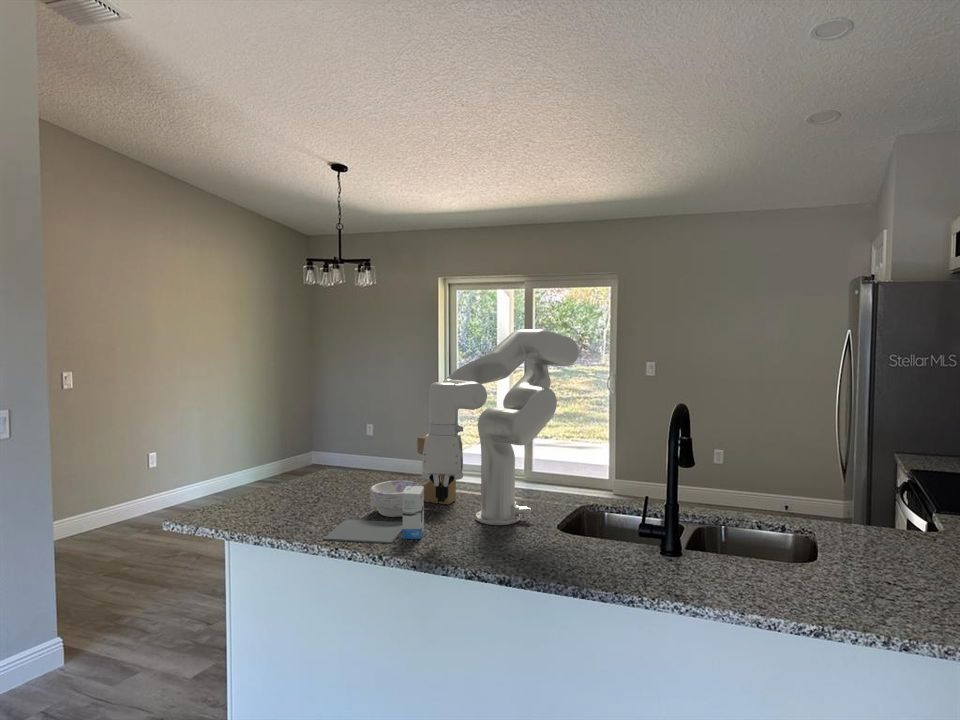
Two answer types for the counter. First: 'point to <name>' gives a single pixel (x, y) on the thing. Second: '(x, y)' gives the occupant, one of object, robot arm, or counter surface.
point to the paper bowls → (389, 497)
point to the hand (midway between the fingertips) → (441, 500)
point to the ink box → (413, 512)
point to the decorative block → (429, 486)
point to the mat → (366, 531)
